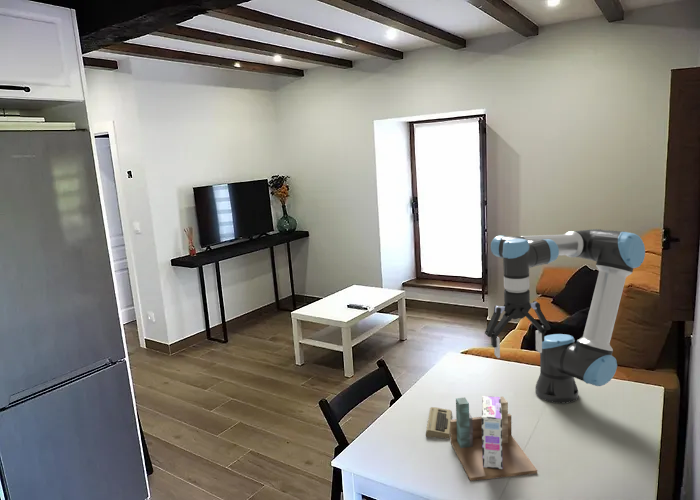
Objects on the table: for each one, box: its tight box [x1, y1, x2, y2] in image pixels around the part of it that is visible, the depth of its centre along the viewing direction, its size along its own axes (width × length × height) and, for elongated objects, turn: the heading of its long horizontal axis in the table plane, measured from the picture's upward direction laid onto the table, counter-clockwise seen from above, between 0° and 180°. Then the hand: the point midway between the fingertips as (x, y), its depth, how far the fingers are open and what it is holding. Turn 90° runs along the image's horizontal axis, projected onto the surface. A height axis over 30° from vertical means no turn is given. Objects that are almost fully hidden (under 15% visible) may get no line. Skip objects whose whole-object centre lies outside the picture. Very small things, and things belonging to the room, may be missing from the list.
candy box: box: [481, 395, 503, 469], centre depth 152 cm, size 14×6×16 cm, turn 164°
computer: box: [425, 406, 453, 439], centre depth 174 cm, size 16×8×3 cm, turn 166°
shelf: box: [450, 396, 538, 482], centre depth 153 cm, size 20×20×16 cm
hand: (518, 353), depth 158 cm, fingers open, 13 cm apart
